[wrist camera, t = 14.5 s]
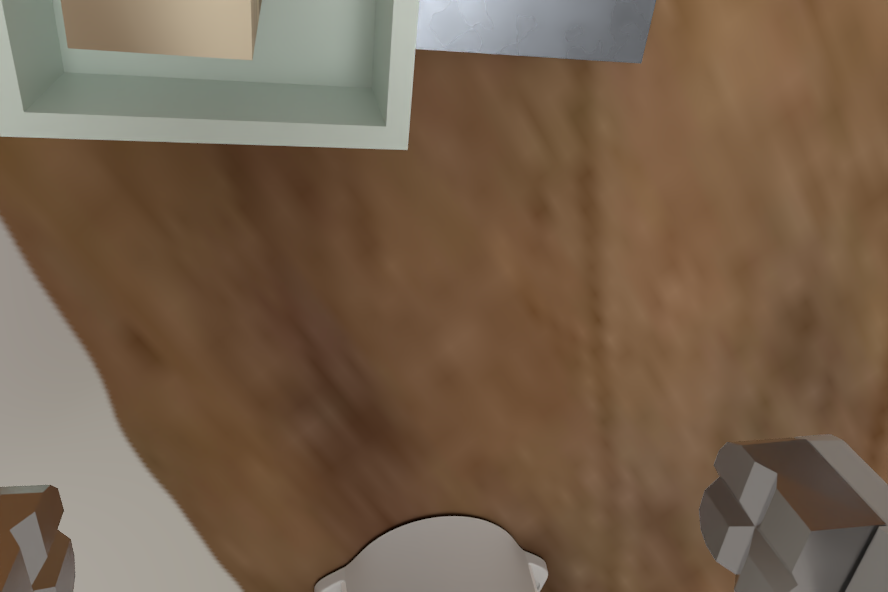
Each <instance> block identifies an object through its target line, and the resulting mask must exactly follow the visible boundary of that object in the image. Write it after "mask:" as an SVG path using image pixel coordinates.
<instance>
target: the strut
mask: <svg viewBox="0 0 888 592" xmlns="http://www.w3.org/2000/svg"><path fill="white" fill-rule="evenodd" d="M261 3H262V0H61V7H62V13H63V20H64V26H65V33H66V39H67V46H68V48H71V49H87V50H102V51H117V52H132V53H148V54H163V55H178V56H193V57H209V58H224V59H239V60H253V53H254V47H255V41H256V34H257V28H258V22H259V15H260V9H261Z"/></svg>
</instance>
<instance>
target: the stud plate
mask: <svg viewBox="0 0 888 592" xmlns="http://www.w3.org/2000/svg"><path fill="white" fill-rule="evenodd" d="M655 2H656V0H419V10H418V23H417V35H416V48H415V49H423V50H439V51H455V52H471V53H486V54H502V55H518V56H534V57H550V58H565V59H581V60H597V61H613V62H628V63H641V62H642V58H643V53H644V49H645V45H646V41H647V36H648V32H649V28H650V24H651V19H652V15H653V11H654V7H655Z"/></svg>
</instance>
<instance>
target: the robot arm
mask: <svg viewBox="0 0 888 592" xmlns="http://www.w3.org/2000/svg"><path fill="white" fill-rule="evenodd" d="M714 467H715V469H716V471H717V473H718V475H719V478H718V479H717V480H715V481H714V482H713V483H712V484H711V485H710V486H709V487H708V488H707V489H706V490H705V491H704V495H703V498H702V501H701V505H700V508H699V514H700V526H701V532H702V534H703V537H704V540H705V543H706V546H707V547H708V549H709V550H710V552H711V554H712V555H713V557H714V559H715V560H716V562H718V563H719V564H721V565H722V566H724V567H725V568H727V569H728V570H730V571H731V572H733V573H734V574H736V576H735V586H734V591H735V592H888V484H887V483H886V482H885V481H884V480H883V479H881V478H880V477H879V476H878V475H877V474H876V473H875V472H874V471H873V470H872V469H871V468H870V467H869V466H868V465H867V464H866V463H865V462H864V461H863V460H862V459H861V458H860V457H859V456H858V455H857V454H856V453H855V452H854V451H853V450H852V449H851V448H850V447H849V446H848V445H847V444H846V443H845V442H844V441H843V440H841V439H840V438H837V437H835V436H833V435H831V434H825V435H813V436H800V437H795V438H778V439H764V440H750V441H737V442H727V443H726V444H725V445H724V446H723V447H722V448H721V449H720V450H719V452H718V455H717V457H716V460H715V463H714ZM63 512H64V509H63V506H62V502H61V498H60V495H59V491H58V488H56V487H53V486H51V485H38V486H14V487H0V592H73V589H74V580H75V562H74V552H73V548H72V543H71V539H69V538H68V537H67V536H66V535H64V534H63V533H61V532H60V531H59V530H57V529H58V526H59V523H60V519H61V517H62V514H63ZM547 577H548V570H547V566H546V563H545V561H544V560H543V559H541V558H540V557H538V556H536V555H533V554H531V553H528V552H526V551H524V550H523V549H521V548H520V547H519V545H518V544H517V543H516V542H515V540H514V539H513V538H512V537H511V536H510V534H508V533H507V532H506V531H505V530H503V529H502V528H500V527H499V526H497V525H495V524H493V523H490V522H488V521H485V520H481V519H477V518H472V517H464V516H443V517H434V518H428V519H423V520H419V521H415V522H412V523H409V524H406V525H403V526H401V527H398V528H396V529H394V530H392V531H390V532H388V533H386V534H384V535H382V536H381V537H379V538H378V539H376V540H375V541H373V542H372V543H371V544H369V545H368V546H367V547H366V548H365V549H363V550H362V551H361V552H360V553H359V554H358V555H357V556H356V558H355V559H354V560H353V561H351V562H350V563H349V564H348V565H347V566H345V567H344V568H342V569H340V570H338V571H336V572H334V573H332V574H330V575H328V576H326V577H324V578H323V579H321V580H320V581H319V582H318V583H317V584H316V585H315V588H314V591H315V592H540V591H541V589H542V587H543V585H544V583H545V581H546V579H547Z"/></svg>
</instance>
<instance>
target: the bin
mask: <svg viewBox="0 0 888 592" xmlns="http://www.w3.org/2000/svg"><path fill="white" fill-rule="evenodd" d="M418 10H419V0H262V3H261V9H260V15H259V22H258V28H257V34H256V41H255V47H254V53H253V60H239V59H224V58H209V57H193V56H178V55H163V54H148V53H132V52H117V51H102V50H87V49H71V48H68V46H67V39H66V33H65V26H64V20H63V13H62V7H61V0H0V136H1V137H32V138H62V139H92V140H122V141H152V142H183V143H213V144H243V145H273V146H303V147H334V148H364V149H394V150H408V138H409V126H410V113H411V100H412V87H413V74H414V61H415V48H416V35H417V23H418Z"/></svg>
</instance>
